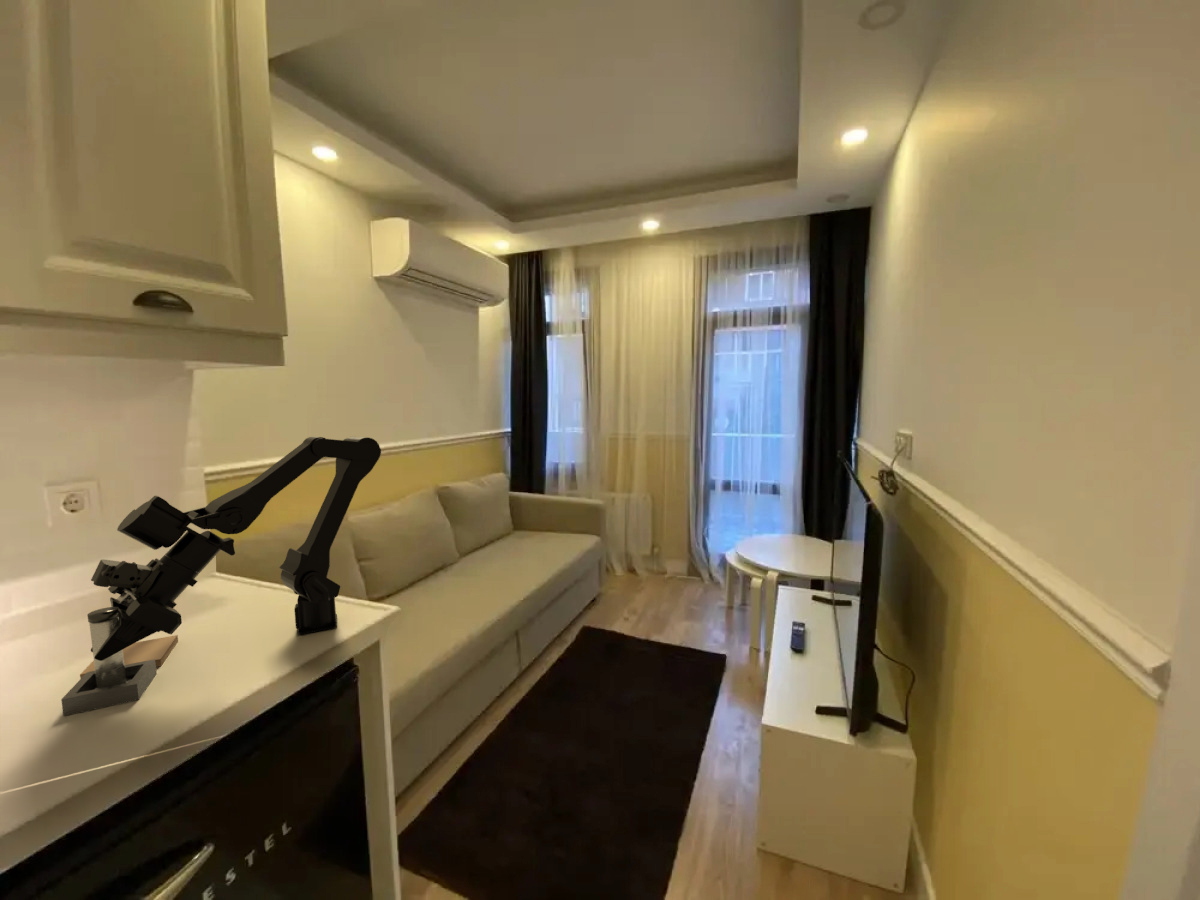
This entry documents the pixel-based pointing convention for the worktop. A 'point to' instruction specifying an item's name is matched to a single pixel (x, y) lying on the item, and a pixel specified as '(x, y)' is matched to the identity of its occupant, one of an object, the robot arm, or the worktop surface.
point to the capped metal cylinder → (100, 629)
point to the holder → (108, 689)
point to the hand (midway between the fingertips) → (95, 655)
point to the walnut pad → (145, 652)
